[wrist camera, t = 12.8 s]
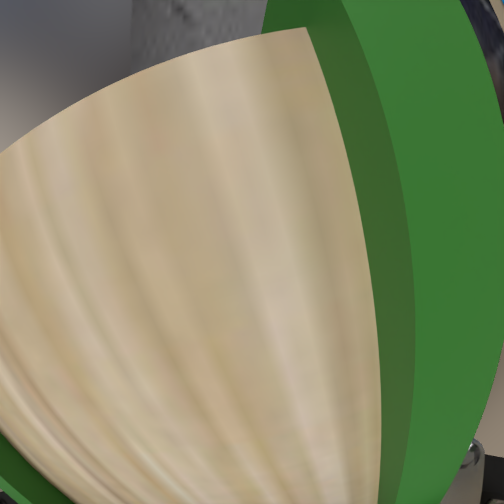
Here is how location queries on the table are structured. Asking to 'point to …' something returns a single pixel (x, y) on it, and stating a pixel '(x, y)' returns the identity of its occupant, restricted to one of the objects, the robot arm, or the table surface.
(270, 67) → the hardback book
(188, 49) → the table surface
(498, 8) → the book
